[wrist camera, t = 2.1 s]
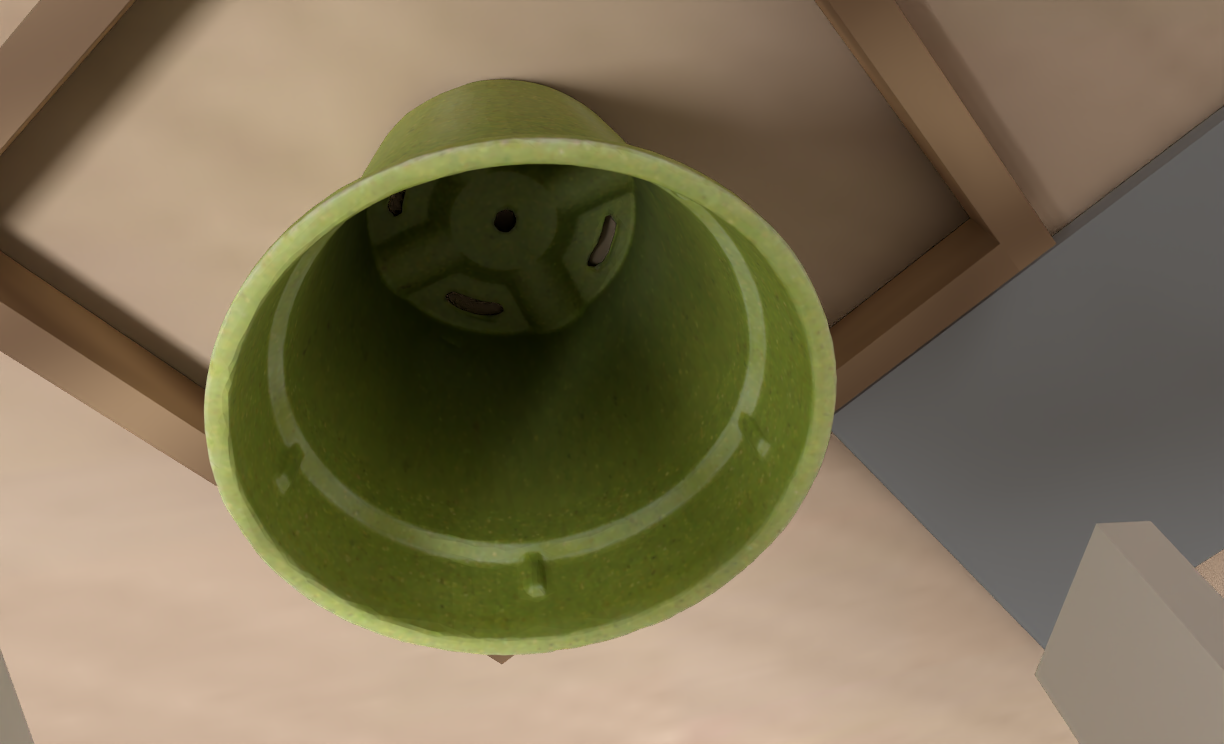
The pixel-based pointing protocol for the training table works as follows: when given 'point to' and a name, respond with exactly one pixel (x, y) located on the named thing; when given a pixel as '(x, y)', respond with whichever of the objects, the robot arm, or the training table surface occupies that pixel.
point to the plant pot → (519, 384)
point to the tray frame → (863, 340)
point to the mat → (1072, 393)
